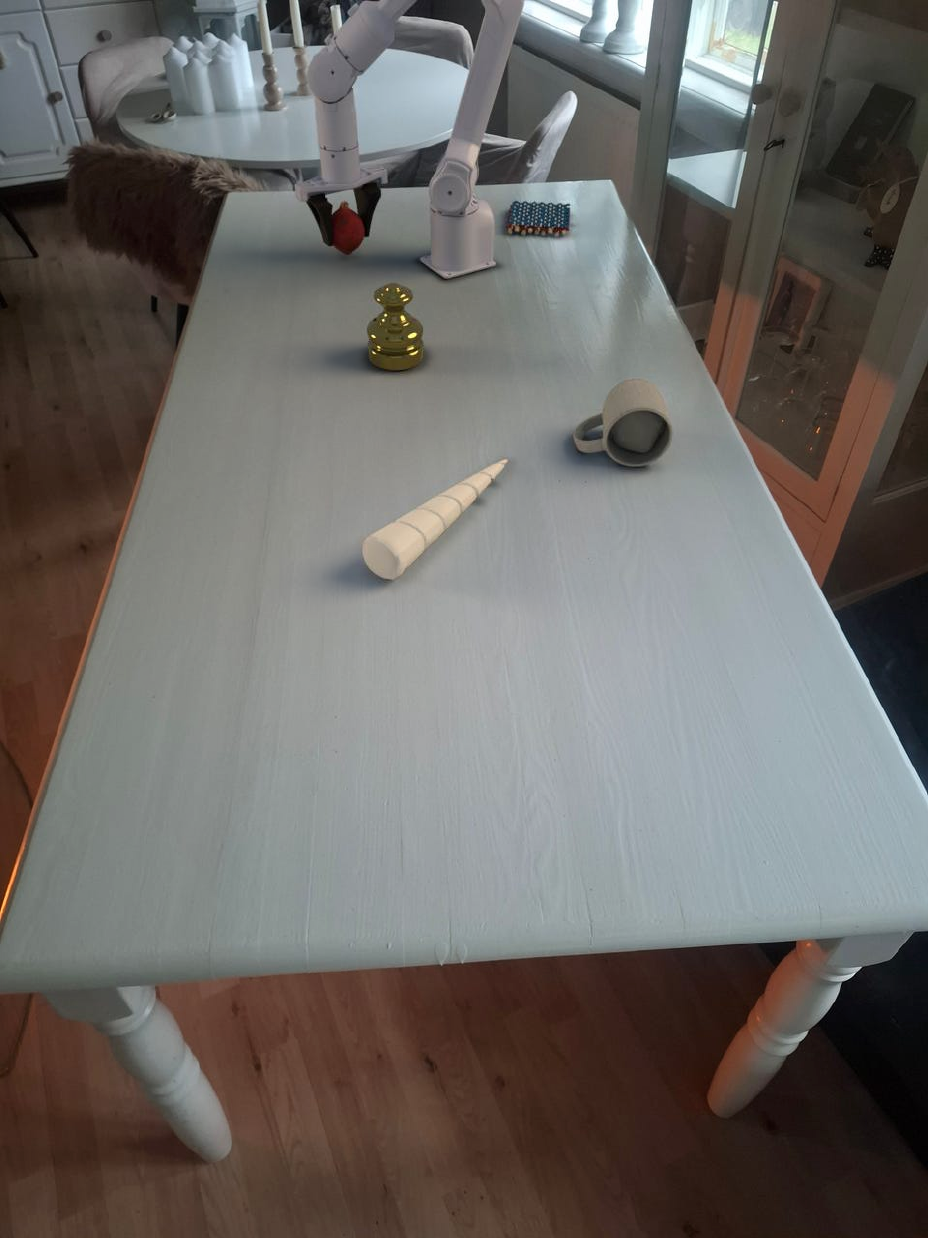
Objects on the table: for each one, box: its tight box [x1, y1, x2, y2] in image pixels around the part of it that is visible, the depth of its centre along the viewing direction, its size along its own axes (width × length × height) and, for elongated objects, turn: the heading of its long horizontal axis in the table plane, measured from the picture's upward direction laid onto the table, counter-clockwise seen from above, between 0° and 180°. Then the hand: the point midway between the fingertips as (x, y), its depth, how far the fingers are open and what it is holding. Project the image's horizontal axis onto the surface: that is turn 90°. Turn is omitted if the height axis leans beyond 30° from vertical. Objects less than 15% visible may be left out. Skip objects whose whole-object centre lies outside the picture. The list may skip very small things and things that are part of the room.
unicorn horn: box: [362, 459, 508, 581], centre depth 91 cm, size 5×24×5 cm, turn 142°
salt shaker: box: [366, 282, 424, 372], centre depth 112 cm, size 7×7×10 cm
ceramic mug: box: [573, 378, 674, 468], centre depth 100 cm, size 11×8×8 cm
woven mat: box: [506, 200, 571, 238], centre depth 147 cm, size 10×11×2 cm
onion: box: [332, 200, 365, 256], centre depth 134 cm, size 6×6×8 cm
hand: (346, 239), depth 135 cm, fingers closed on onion, 6 cm apart
